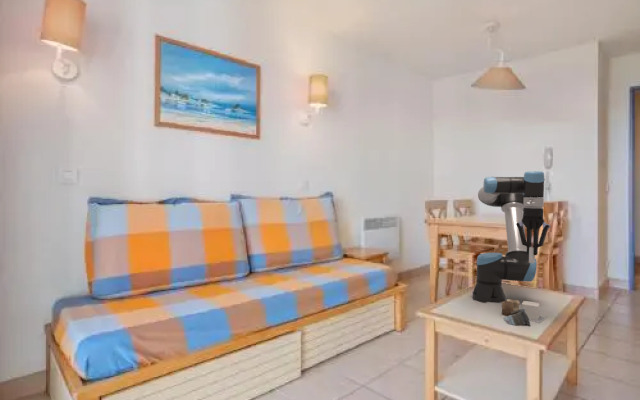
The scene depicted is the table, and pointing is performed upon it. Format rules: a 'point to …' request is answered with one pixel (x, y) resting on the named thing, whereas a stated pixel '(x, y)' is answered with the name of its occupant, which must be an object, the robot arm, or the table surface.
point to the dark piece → (518, 318)
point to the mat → (538, 319)
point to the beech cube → (514, 304)
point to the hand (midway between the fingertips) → (531, 262)
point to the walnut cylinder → (507, 308)
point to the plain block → (531, 309)
